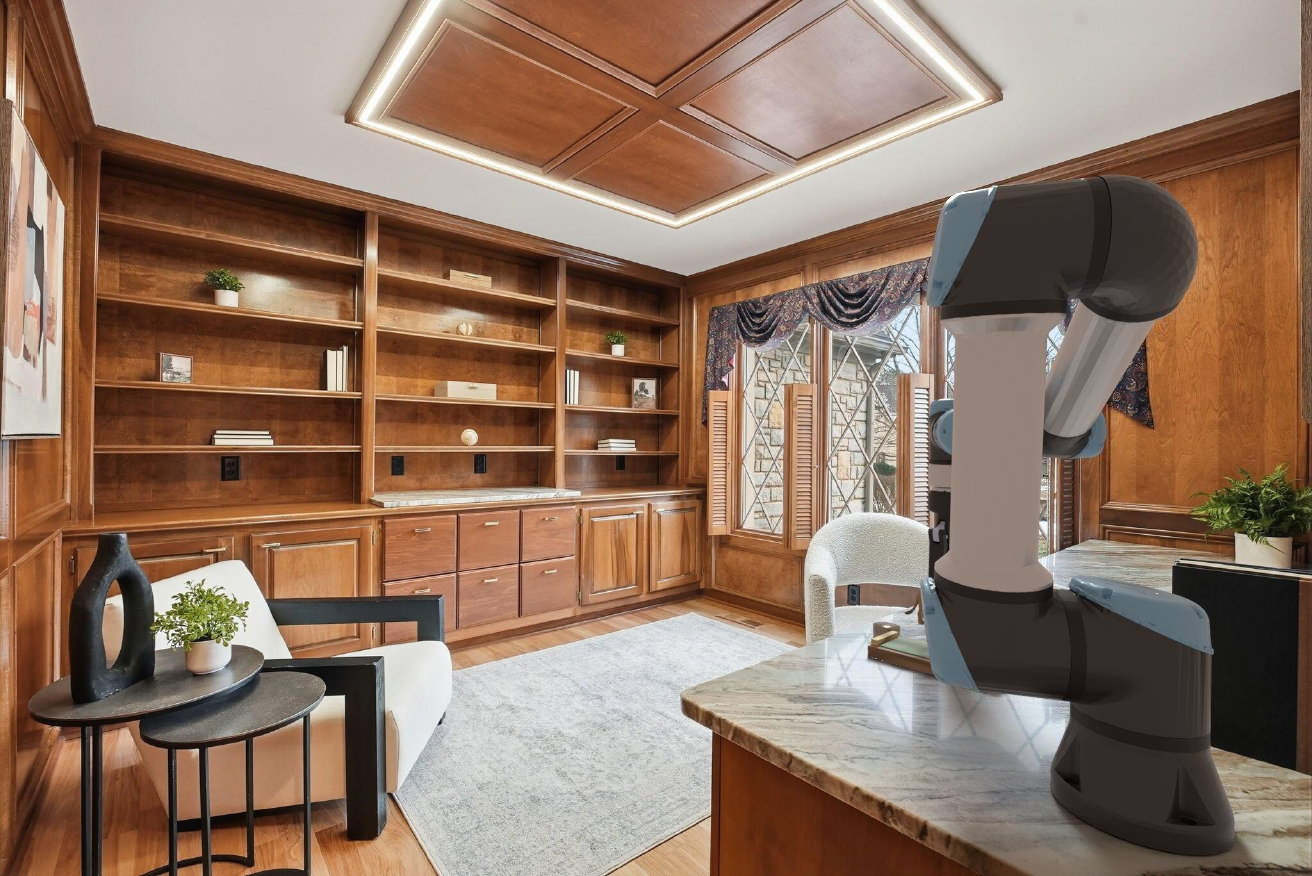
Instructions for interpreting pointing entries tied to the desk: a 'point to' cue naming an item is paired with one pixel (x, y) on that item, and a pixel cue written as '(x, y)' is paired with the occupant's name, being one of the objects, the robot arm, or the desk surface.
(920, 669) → the plinth
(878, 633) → the paperweight
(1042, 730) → the desk surface
